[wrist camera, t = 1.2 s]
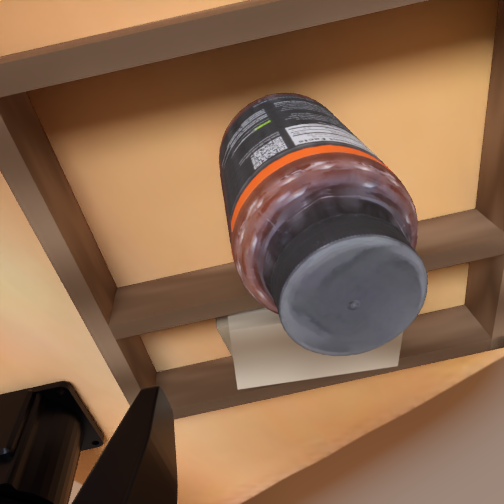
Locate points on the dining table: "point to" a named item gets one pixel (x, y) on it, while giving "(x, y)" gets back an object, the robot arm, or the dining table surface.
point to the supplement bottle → (319, 227)
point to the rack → (226, 276)
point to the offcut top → (291, 353)
